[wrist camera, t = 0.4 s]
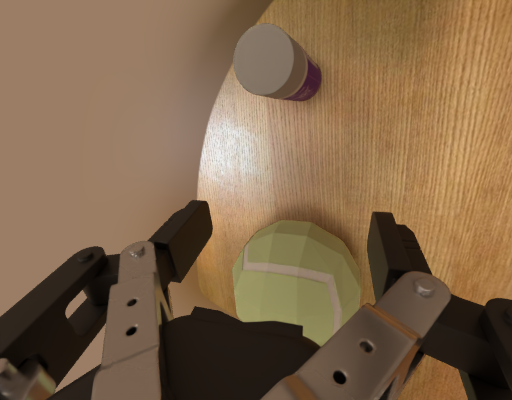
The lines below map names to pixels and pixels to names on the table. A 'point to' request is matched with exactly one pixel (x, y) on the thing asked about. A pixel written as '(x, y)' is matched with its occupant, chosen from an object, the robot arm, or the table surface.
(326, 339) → the decorative sphere
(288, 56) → the container
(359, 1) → the table surface
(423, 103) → the table surface
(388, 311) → the robot arm
